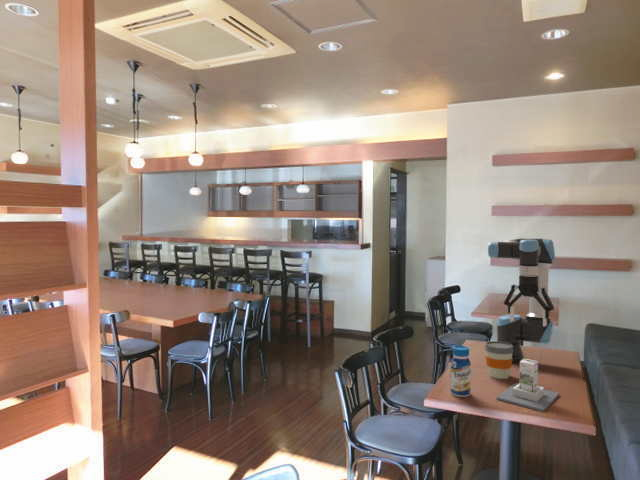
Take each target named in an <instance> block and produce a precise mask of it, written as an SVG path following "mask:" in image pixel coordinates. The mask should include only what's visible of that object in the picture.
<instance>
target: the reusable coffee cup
mask: <svg viewBox="0 0 640 480" xmlns="http://www.w3.org/2000/svg"><path fill="white" fill-rule="evenodd" d="M484 347H485V348H484V350H485V362H486V363H485V364H486V365H487V371H488V376H489V377H490V378H493V379H498V380H506V379H509V378H510V373H511V369H512V365H513V363H512V359H513V357H512V353H513V345H511V344H509V343H506V342H499V341H497V340H496V341H495V340H493V341H492V340H491V341H486V342H485V346H484Z"/></svg>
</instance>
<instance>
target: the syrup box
mask: <svg viewBox="0 0 640 480" xmlns="http://www.w3.org/2000/svg"><path fill="white" fill-rule="evenodd" d="M538 375H539V362H538V360H534V359H533V360H532V359H528V358H524V359H522V360H521V361H520V362H519V383H520V389H521V390H525V391H529V392H533V393H536V392H537V391H538V390H537V386H538V382H539V381H538V380H539V379H538V378H539V377H538Z"/></svg>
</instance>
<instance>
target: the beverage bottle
mask: <svg viewBox="0 0 640 480" xmlns="http://www.w3.org/2000/svg"><path fill="white" fill-rule="evenodd" d="M452 355H453V356H452V358H451V360H450V365H451V366H450V367H449V368H450V369H449V370H450V394H452V395H453V396H456V397H459V398H466V397H469V396H470V395H471V375H472V369H471V366H472V364H471V361H470V359H469V356H470V348H469V347H467V346H465V345H454V346H453V347H452Z"/></svg>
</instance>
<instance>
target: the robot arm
mask: <svg viewBox="0 0 640 480" xmlns="http://www.w3.org/2000/svg"><path fill="white" fill-rule="evenodd" d="M487 255H488V257H489V258H494V259H513V260H517V261H519V263H518V265H519V266H518V270H519V271H518V274H519V276H518V277H519V278H518V285H517V284H512V285H511V287H510V290H509V293H508V294H507V295H506V298H505V299H504V301H503V305H505V306H507V313H508V314H504V315H500V316H499V317H498V318H497V323H496V329H497V330H496V332H497V333H496V341H499V342H506V343H509V344H511V345H513V353H512V357H513V359H512V364H514V363H520V361H521V360H522V359H525V355H524V352H523V349H522V345H521V342H527V343H528V342H529V343H537V344H545V345H547V344H549V343H550V342H551V339H552V335H553V332H554V331H553V330H554V323H555V322H554V321H552V320H551V316H550V312H551V311H553V310H555V306H554V304H553V302H552V301H551V298H550V297H549V269H550V267H552V266H553V263H554V262H556V253H555V244H554V241H553V240H552V239H549V238H514V239H510V240H509V239H508V240H506V241H490V242H489V243H488V246H487ZM517 290H518V291H519V293H517V294H516V296H515V297H514V298H513V299H512V297H513V296H514V294H515V293H516V291H517ZM522 296H523V297H529V299H528V300H529V301H528V302H529V303H528V304H529V306H528V312H527V314H526V315H525V318H523V317H522V316H521V315H519V314H515V305H514V304H515V303H516V302H517V301H518V300H519V299H520V298H521V297H522ZM511 299H512V300H511Z"/></svg>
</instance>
